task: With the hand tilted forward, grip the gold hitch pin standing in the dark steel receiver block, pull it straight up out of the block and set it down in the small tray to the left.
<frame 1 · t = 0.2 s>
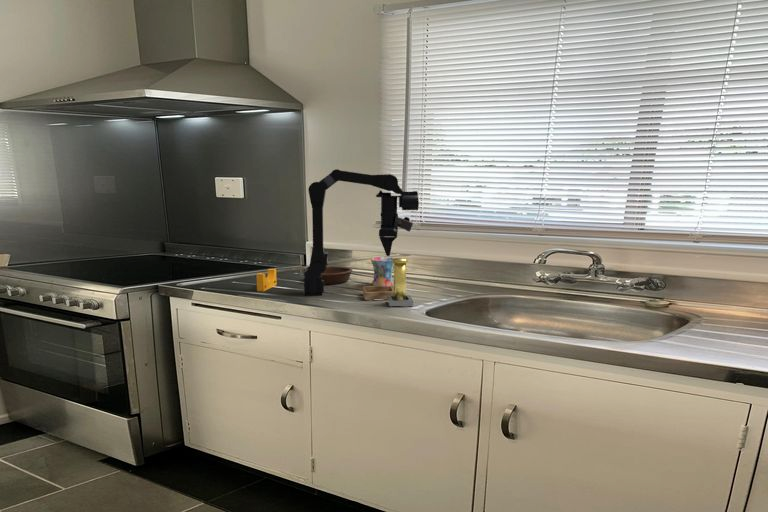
hand: (388, 253, 184), 14 cm above the worktop, tool pointing down, fingers open, 9 cm apart
tray: (378, 296, 180), on the worktop
pipe clamp: (264, 288, 196), on the worktop
dish: (330, 282, 208), on the worktop
mug: (385, 286, 199), on the worktop
hitch pin: (399, 281, 168), in the receiver block
receiver block: (399, 304, 169), on the worktop
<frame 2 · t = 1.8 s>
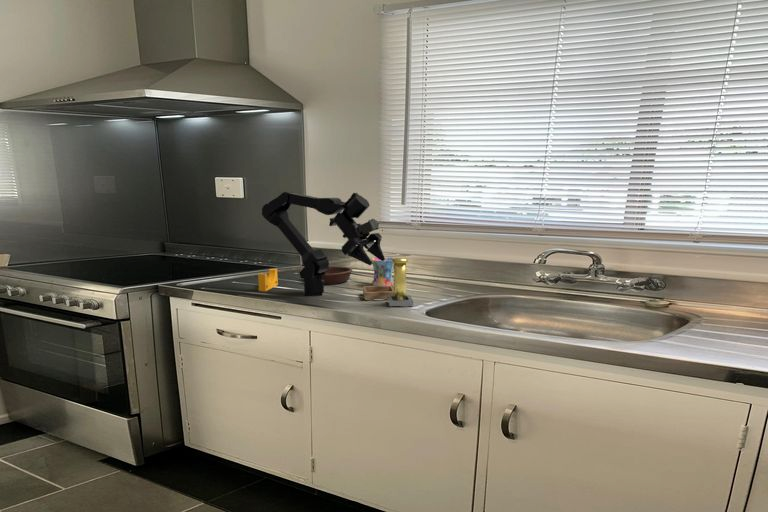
hand: (377, 262, 171), 13 cm above the worktop, tool tilted 45°, fingers open, 9 cm apart
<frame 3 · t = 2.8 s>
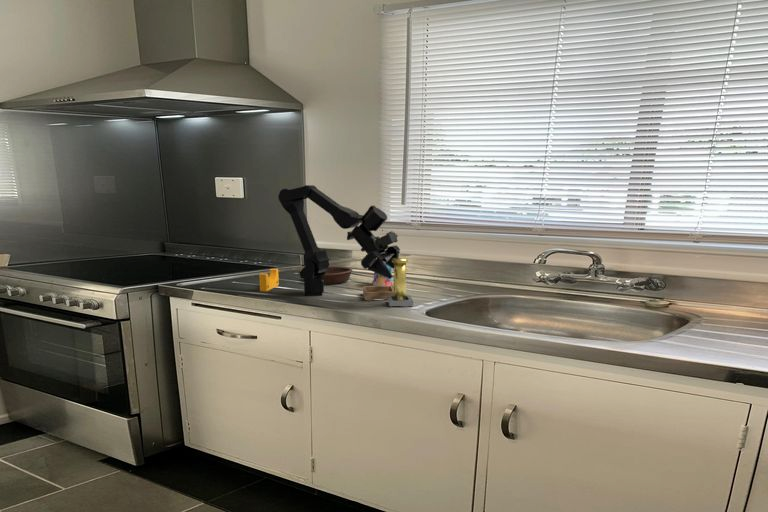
hand: (397, 275, 168), 9 cm above the worktop, tool tilted 45°, fingers open, 9 cm apart
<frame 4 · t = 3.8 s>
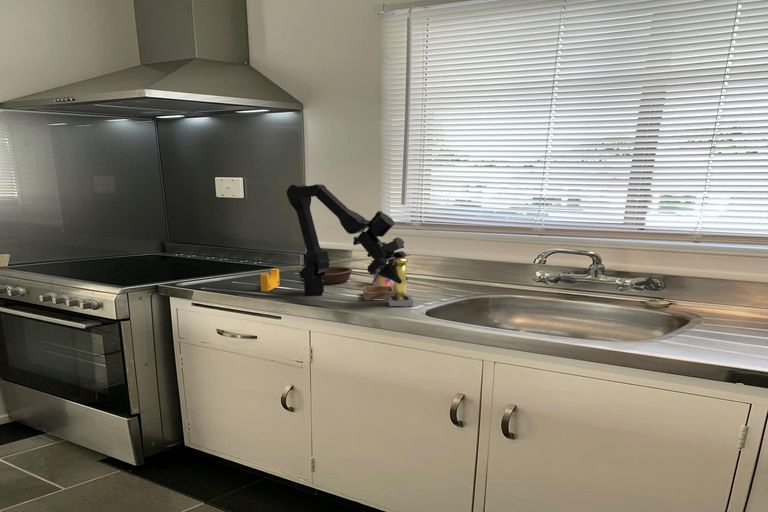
hand: (403, 281, 168), 8 cm above the worktop, tool tilted 45°, fingers closed on hitch pin, 4 cm apart
hitch pin: (399, 281, 168), in the receiver block, touching gripper
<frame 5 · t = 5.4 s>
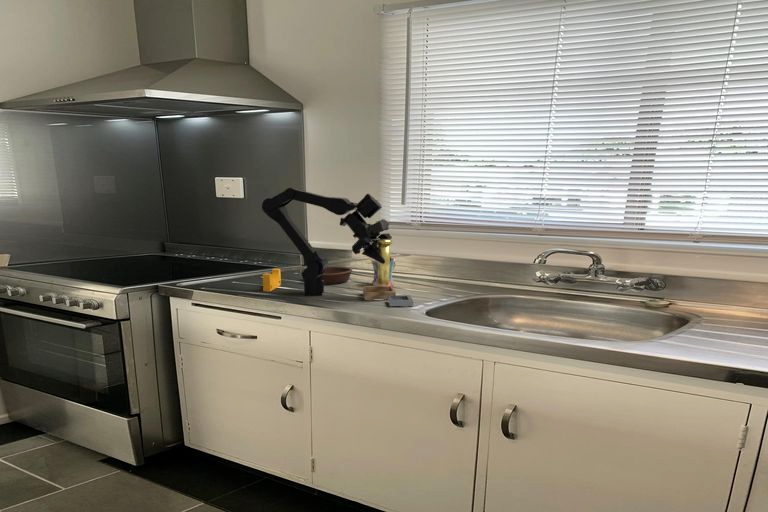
hand: (387, 262, 174), 13 cm above the worktop, tool tilted 45°, fingers closed on hitch pin, 4 cm apart
hitch pin: (383, 262, 175), point 13 cm above the worktop, touching gripper
when the fingers open (9 cm above the worktop, at t = 6.8 s): hitch pin stays where it is, resting on tray.
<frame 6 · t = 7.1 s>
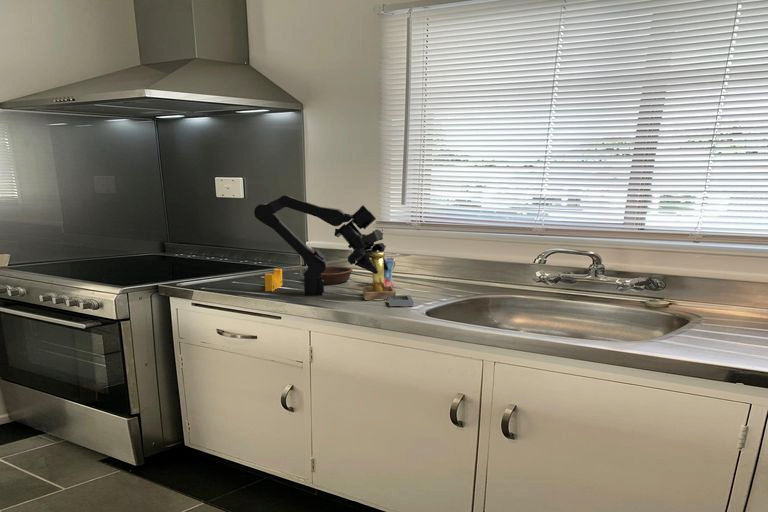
hand: (382, 271, 178), 9 cm above the worktop, tool tilted 45°, fingers open, 8 cm apart
hitch pin: (378, 273, 179), in the tray, point 8 cm above the worktop
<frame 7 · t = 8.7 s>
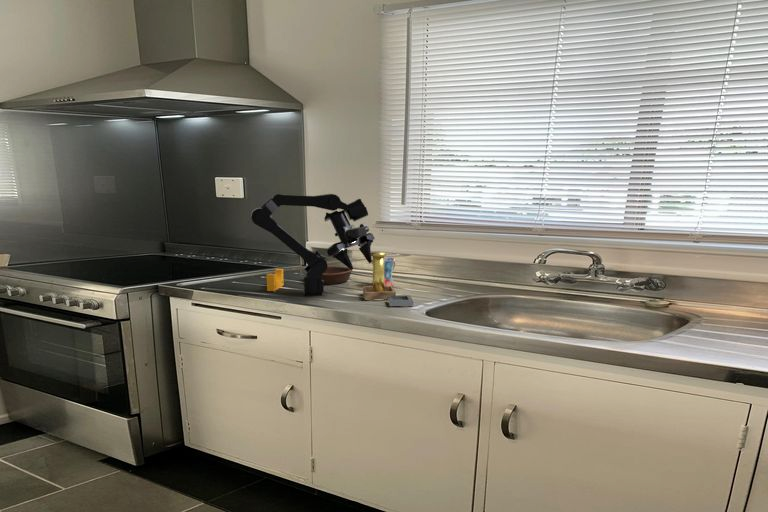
hand: (361, 266, 181), 10 cm above the worktop, tool tilted 30°, fingers open, 9 cm apart
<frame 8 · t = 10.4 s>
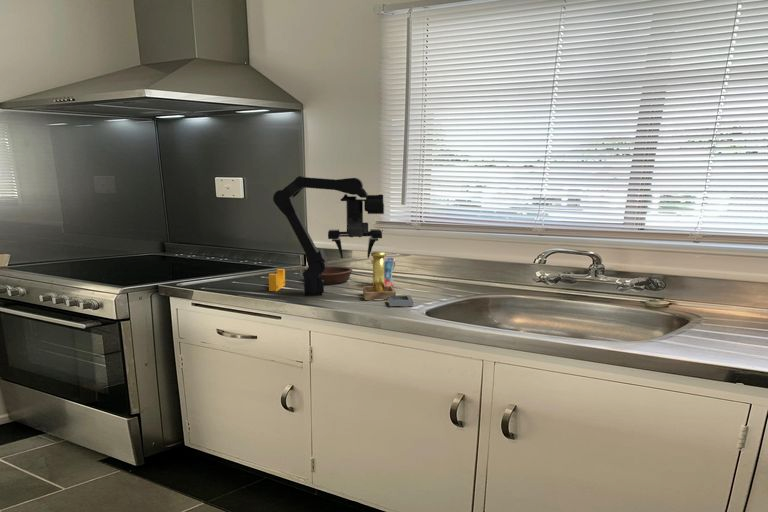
hand: (355, 258, 182), 13 cm above the worktop, tool pointing down, fingers open, 9 cm apart
at the end: hitch pin inside the target area on the tray (0.1 cm from its centre), point 8.1 cm above the tray's base; the gripper is holding nothing; hitch pin moved 12.6 cm from its start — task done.
